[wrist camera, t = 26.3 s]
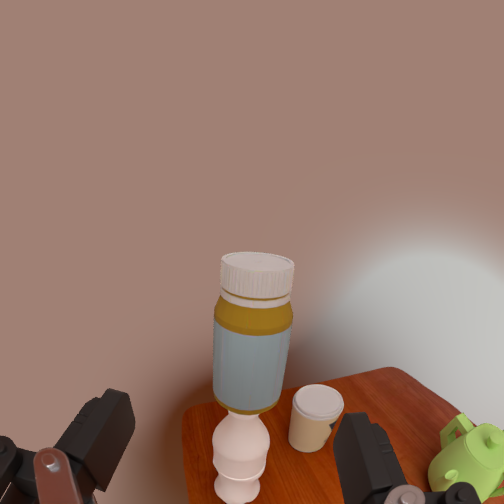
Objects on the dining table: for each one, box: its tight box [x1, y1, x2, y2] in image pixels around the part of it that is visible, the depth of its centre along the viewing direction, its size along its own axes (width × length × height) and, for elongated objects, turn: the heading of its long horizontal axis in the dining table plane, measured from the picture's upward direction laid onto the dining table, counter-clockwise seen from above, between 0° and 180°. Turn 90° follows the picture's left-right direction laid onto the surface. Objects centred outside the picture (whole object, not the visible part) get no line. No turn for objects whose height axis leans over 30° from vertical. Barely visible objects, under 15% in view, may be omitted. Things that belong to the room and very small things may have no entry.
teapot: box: [428, 413, 504, 503], centre depth 24 cm, size 19×20×14 cm
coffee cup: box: [288, 384, 344, 452], centre depth 45 cm, size 9×9×12 cm
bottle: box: [213, 252, 294, 415], centre depth 25 cm, size 7×7×15 cm
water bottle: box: [212, 410, 270, 504], centre depth 30 cm, size 7×7×25 cm
